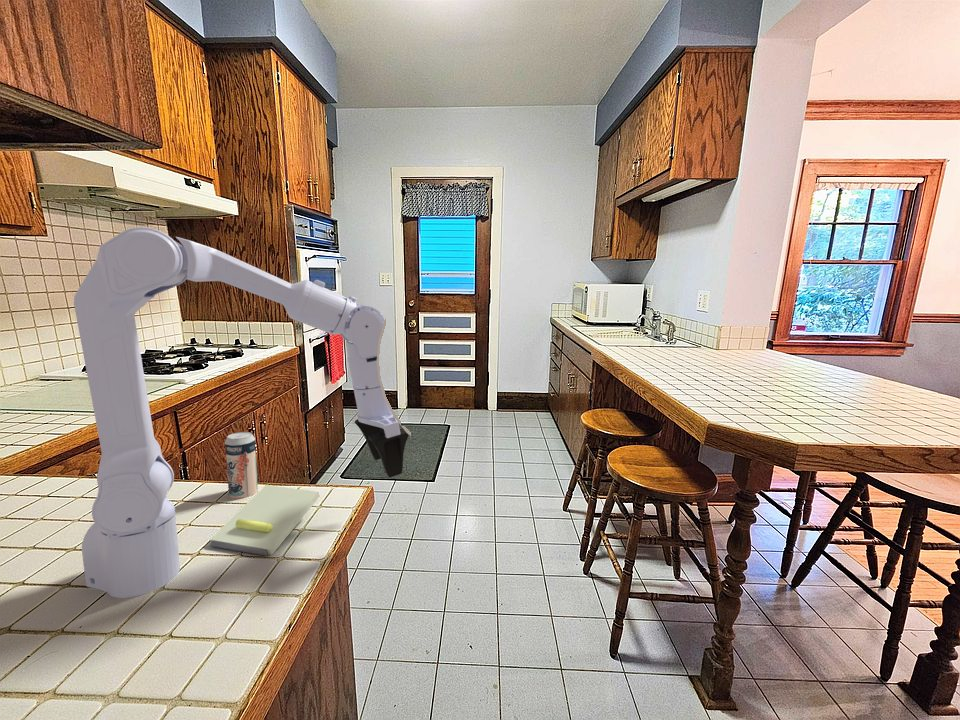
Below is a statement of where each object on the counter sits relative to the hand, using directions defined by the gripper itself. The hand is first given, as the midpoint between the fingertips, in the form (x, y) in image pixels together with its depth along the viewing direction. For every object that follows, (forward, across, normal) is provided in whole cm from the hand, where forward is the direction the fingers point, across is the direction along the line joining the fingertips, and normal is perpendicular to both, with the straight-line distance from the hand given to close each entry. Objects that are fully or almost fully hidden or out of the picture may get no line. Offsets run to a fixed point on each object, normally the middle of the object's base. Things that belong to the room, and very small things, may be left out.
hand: (387, 465), depth 67 cm
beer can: (+7, +22, +22) cm, 32 cm away
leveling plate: (+5, +6, +18) cm, 20 cm away
